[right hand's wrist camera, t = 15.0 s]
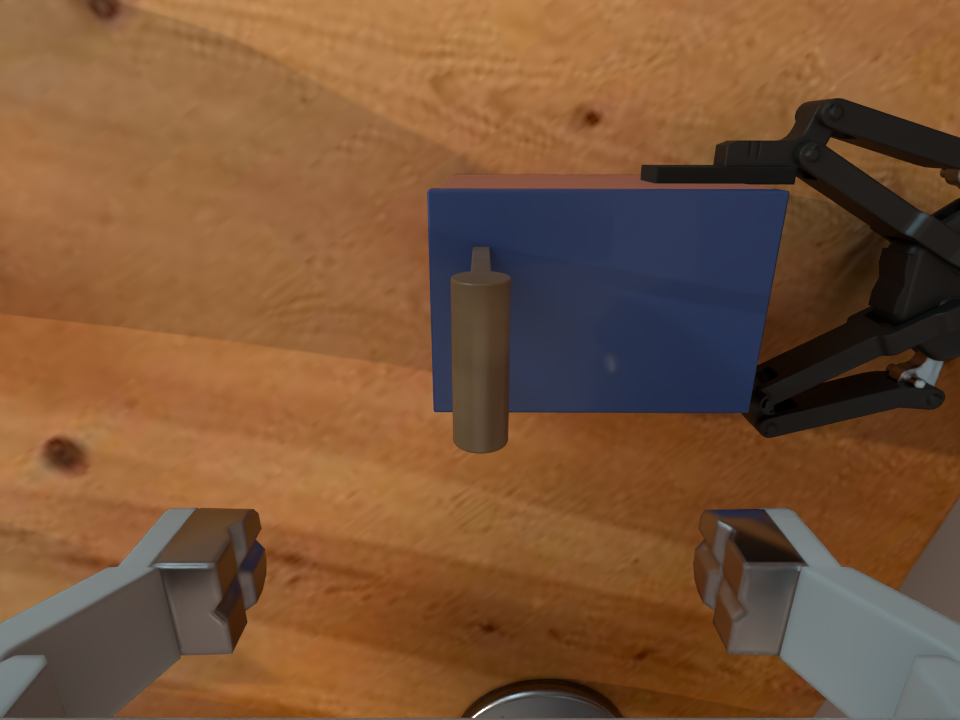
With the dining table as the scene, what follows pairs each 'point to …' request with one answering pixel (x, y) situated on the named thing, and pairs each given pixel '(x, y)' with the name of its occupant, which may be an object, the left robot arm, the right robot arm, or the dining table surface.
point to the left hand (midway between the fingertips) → (637, 280)
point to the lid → (596, 301)
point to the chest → (574, 182)
